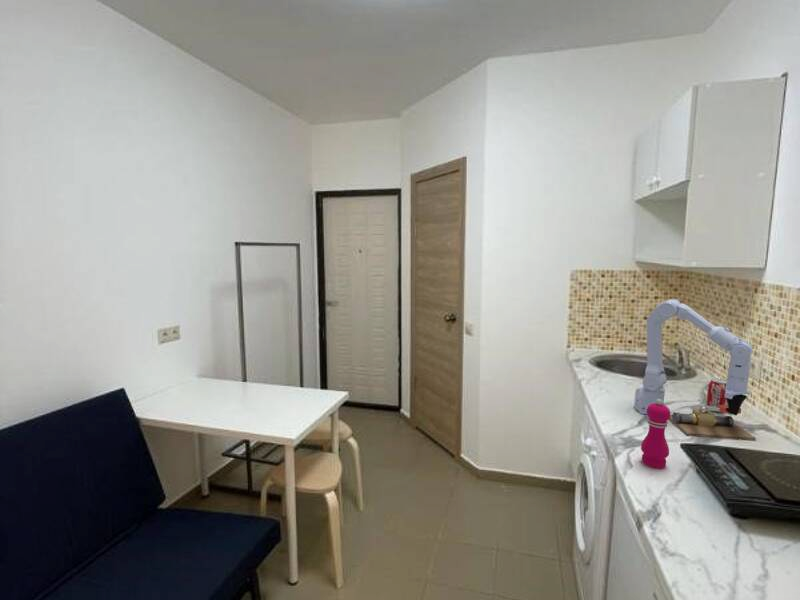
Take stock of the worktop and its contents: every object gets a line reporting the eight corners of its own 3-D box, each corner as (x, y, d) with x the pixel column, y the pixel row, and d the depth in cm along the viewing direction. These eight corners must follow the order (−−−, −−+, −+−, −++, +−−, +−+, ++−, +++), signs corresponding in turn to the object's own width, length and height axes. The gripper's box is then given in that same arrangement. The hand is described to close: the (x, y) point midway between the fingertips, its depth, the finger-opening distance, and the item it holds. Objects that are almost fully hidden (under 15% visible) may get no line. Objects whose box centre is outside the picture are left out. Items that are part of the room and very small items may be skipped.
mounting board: (686, 435, 148) (687, 432, 147) (665, 416, 163) (666, 414, 163) (755, 440, 144) (755, 437, 144) (727, 421, 160) (727, 418, 160)
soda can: (731, 414, 166) (735, 384, 165) (711, 412, 168) (714, 382, 166) (722, 407, 173) (725, 378, 171) (702, 405, 174) (705, 377, 173)
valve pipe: (677, 425, 154) (678, 412, 153) (671, 420, 159) (672, 407, 158) (734, 429, 151) (735, 416, 150) (726, 423, 156) (727, 410, 155)
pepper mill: (642, 454, 134) (648, 392, 131) (669, 462, 129) (676, 398, 127) (637, 464, 128) (643, 399, 126) (665, 472, 124) (672, 405, 121)
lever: (701, 412, 153) (702, 406, 153) (697, 409, 156) (698, 403, 155) (740, 414, 151) (741, 408, 151) (735, 411, 154) (736, 405, 154)
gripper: (744, 383, 141) (739, 423, 143) (759, 375, 150) (754, 413, 151) (719, 377, 147) (714, 415, 149) (734, 370, 155) (730, 406, 157)
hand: (733, 414), depth 150 cm, fingers closed, pressing on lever
